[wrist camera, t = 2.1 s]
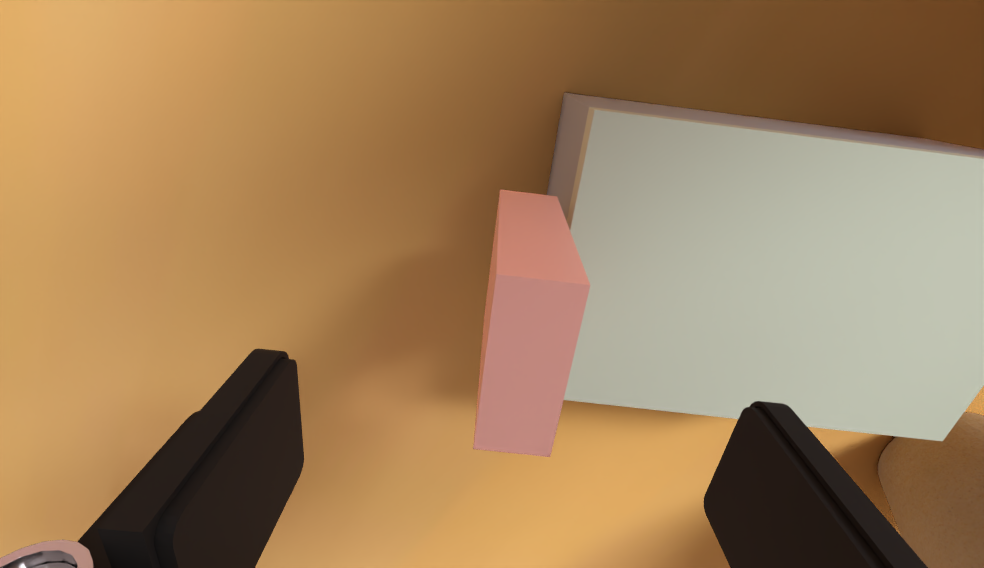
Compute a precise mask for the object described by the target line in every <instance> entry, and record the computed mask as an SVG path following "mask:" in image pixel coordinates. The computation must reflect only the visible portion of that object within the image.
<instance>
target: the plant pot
mask: <svg viewBox="0 0 984 568" xmlns="http://www.w3.org/2000/svg"><path fill="white" fill-rule="evenodd" d="M878 476H879V479H880V482H881V485H882V488H883V491H884V493H885V496H886V498H887V501H888V504H889V506H890V509H891V511H892V514H893V516H894V519H895V522H896V524H897V526H898V529H899V531H900V533H901V536H902V538H903V539H904V540H905V541H906V543H907V544H908V545H909V546H910V547H911V548H912V550H913V551H914V552H915V553H916V554H917V555H918V557H919V558H920V559H921V560H922V561H923V562H924V564H925V565H926V566H927V567H928V568H984V416H983V415H979V414H975V413H965V412H964V413H963V414H962V416H961V417H960V418H959V420H958V421H957V422H956V424H955V425H954V427H953V428H952V429H951V431H950V432H949V433H948V435H947V436H946V437H945V439H944V440H943V441H935V440H926V439H917V438H907V437H898V436H896V437H895V438H894V439H893V440H892V441H891V442H890V443H889V444H888V445H887V446H886V448H885V449H884V451H883V452H882V454H881V456H880V459H879V462H878Z"/></svg>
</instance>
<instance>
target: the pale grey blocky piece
mask: <svg viewBox="0 0 984 568" xmlns="http://www.w3.org/2000/svg"><path fill="white" fill-rule="evenodd" d="M983 386H984V157H982V156H974V155H966V154H958V153H950V152H942V151H935V150H927V149H919V148H911V147H903V146H895V145H887V144H879V143H872V142H864V141H856V140H848V139H840V138H832V137H824V136H816V135H808V134H801V133H793V132H785V131H777V130H769V129H761V128H753V127H745V126H737V125H730V124H722V123H714V122H706V121H698V120H690V119H682V118H674V117H667V116H659V115H651V114H643V113H635V112H627V111H619V110H611V109H603V108H596V107H589V110H588V115H587V120H586V126H585V131H584V136H583V141H582V146H581V151H580V156H579V161H578V166H577V172H576V177H575V182H574V187H573V192H572V197H571V202H570V207H569V212H568V217H567V221H566V219H565V216H564V213H563V211H562V208H561V205H560V203H559V200H558V197H557V196H550V195H542V194H534V193H525V192H517V191H509V190H501V189H500V194H499V202H498V210H497V218H496V226H495V234H494V242H493V250H492V258H491V266H490V274H489V282H488V290H487V298H486V306H485V314H484V326H483V338H482V350H481V362H480V374H479V386H478V398H477V410H476V422H475V435H474V447H473V449H479V450H489V451H498V452H508V453H517V454H527V455H536V456H546V457H550V455H551V451H552V447H553V443H554V438H555V434H556V430H557V425H558V421H559V417H560V413H561V408H562V404H563V400H569V401H578V402H587V403H596V404H606V405H615V406H624V407H633V408H642V409H651V410H660V411H670V412H679V413H688V414H697V415H706V416H715V417H725V418H734V419H739V417H740V415H741V412H742V411H743V409H744V408H746V407H750V405H751V404H752V403H753V402H755V401H763V402H773V403H783V404H786V405H788V406H789V407H790V408H791V409H792V410H793V411H794V412H795V413H796V415H797V416H798V417H799V418H800V419H801V420H802V422H803V423H804V424H805V425H806V426H807V427H816V428H825V429H834V430H843V431H853V432H862V433H871V434H880V435H889V436H898V437H907V438H917V439H926V440H935V441H943V440H944V439H945V437H946V436H947V435H948V433H949V432H950V431H951V429H952V428H953V427H954V425H955V424H956V422H957V421H958V420H959V418H960V417H961V416H962V414H963V413H964V412H965V410H966V409H967V407H968V406H969V405H970V403H971V402H972V401H973V399H974V398H975V397H976V395H977V394H978V393H979V391H980V390H981V388H982V387H983Z"/></svg>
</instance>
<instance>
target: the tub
mask: <svg viewBox="0 0 984 568" xmlns="http://www.w3.org/2000/svg"><path fill="white" fill-rule="evenodd" d="M589 107H596V108H603V109H611V110H619V111H627V112H635V113H643V114H651V115H659V116H667V117H674V118H682V119H690V120H698V121H706V122H714V123H722V124H730V125H737V126H745V127H753V128H761V129H769V130H777V131H785V132H793V133H801V134H808V135H816V136H824V137H832V138H840V139H848V140H856V141H864V142H872V143H879V144H887V145H895V146H903V147H911V148H919V149H927V150H935V151H942V152H950V153H958V154H966V155H974V156H982V157H984V150H983V149H978V148H973V147H967V146H962V145H957V144H952V143H946V142H941V141H936V140H930V139H925V138H917V137H910V136H902V135H894V134H886V133H878V132H870V131H862V130H855V129H847V128H839V127H831V126H823V125H815V124H808V123H800V122H792V121H784V120H776V119H768V118H761V117H753V116H745V115H737V114H729V113H721V112H713V111H706V110H698V109H690V108H682V107H674V106H666V105H659V104H651V103H643V102H635V101H627V100H619V99H611V98H604V97H596V96H588V95H580V94H572V93H564V96H563V102H562V108H561V114H560V120H559V125H558V131H557V137H556V143H555V149H554V155H553V160H552V166H551V172H550V178H549V184H548V190H547V195H550V196H557V197H558V200H559V203H560V205H561V208H562V211H563V213H564V216H565V219H566V221H567V217H568V212H569V207H570V202H571V197H572V192H573V187H574V182H575V177H576V172H577V166H578V161H579V156H580V151H581V146H582V141H583V136H584V131H585V126H586V120H587V115H588V110H589Z"/></svg>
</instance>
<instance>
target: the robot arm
mask: <svg viewBox="0 0 984 568" xmlns="http://www.w3.org/2000/svg"><path fill="white" fill-rule="evenodd" d="M303 462H304V452H303V439H302V426H301V413H300V400H299V387H298V374H297V364H296V361H295V360H291V359H289V357H288V355H287V353H286V352H284V351H275V350H265V349H255V350H253V351H252V352H251V353H250V354H249V355H248V357H247V358H246V359H245V360H244V361H243V362H242V363H241V365H240V366H239V367H238V368H237V369H236V370H235V371H234V373H233V374H232V375H231V376H230V377H229V378H228V379H227V381H226V382H225V383H224V384H223V385H222V386H221V387H220V389H219V390H218V391H217V392H216V393H215V394H214V395H213V397H212V398H211V399H210V400H209V401H208V402H207V403H206V405H205V406H204V407H203V408H202V409H201V410H200V411H198V412H195V413H193V414H192V415H191V416H190V417H189V418H188V419H187V420H186V421H185V422H184V423H183V424H182V425H181V426H180V427H179V428H178V430H177V431H176V432H175V433H174V434H173V435H172V436H171V437H170V439H169V440H168V441H167V442H166V443H165V444H164V445H163V446H162V448H161V449H160V450H159V451H158V452H157V453H156V454H155V455H154V456H153V458H152V459H151V460H150V461H149V462H148V463H147V464H146V465H145V467H144V468H143V469H142V470H141V471H140V472H139V473H138V474H137V476H136V477H135V478H134V479H133V480H132V481H131V482H130V483H129V485H128V486H127V487H126V488H125V489H124V490H123V491H122V492H121V493H120V495H119V496H118V497H117V498H116V499H115V500H114V501H113V502H112V504H111V505H110V506H109V507H108V508H107V509H106V510H105V511H104V513H103V514H102V515H101V516H100V517H99V518H98V519H97V520H96V521H95V523H94V524H93V525H92V526H91V527H90V528H89V529H88V530H87V532H86V533H85V534H84V535H83V536H82V537H81V538H80V539H79V541H78V542H74V541H68V540H55V541H45V542H41V543H37V544H34V545H31V546H27V547H24V548H21V549H19V550H17V551H15V552H12V553H10V554H8V555H6V556H4V557H2V558H0V568H255V566H256V564H257V562H258V560H259V558H260V556H261V554H262V552H263V550H264V548H265V546H266V544H267V542H268V540H269V538H270V536H271V534H272V531H273V529H274V527H275V525H276V523H277V521H278V519H279V517H280V515H281V513H282V511H283V509H284V507H285V505H286V503H287V501H288V499H289V497H290V495H291V493H292V491H293V489H294V487H295V485H296V483H297V481H298V478H299V476H300V474H301V471H302V467H303ZM704 509H705V513H706V516H707V518H708V520H709V522H710V524H711V526H712V529H713V531H714V533H715V535H716V537H717V539H718V541H719V544H720V546H721V548H722V550H723V552H724V554H725V557H726V559H727V561H728V563H729V565H730V567H731V568H928V567H927V566H926V565H925V564H924V562H923V561H922V560H921V559H920V558H919V557H918V555H917V554H916V553H915V552H914V551H913V550H912V548H911V547H910V546H909V545H908V544H907V543H906V541H905V540H904V539H903V538H902V537H901V536H900V534H899V533H898V532H897V531H896V530H895V529H894V527H893V526H892V525H891V524H890V523H889V522H888V521H887V519H886V518H885V517H884V516H883V515H882V514H881V512H880V511H879V510H878V509H877V508H876V507H875V505H874V504H873V503H872V502H871V501H870V500H869V498H868V497H867V496H866V495H865V494H864V493H863V491H862V490H861V489H860V488H859V487H858V486H857V484H856V483H855V482H854V481H853V480H852V479H851V477H850V476H849V475H848V474H847V473H846V472H845V470H844V469H843V468H842V467H841V466H840V465H839V463H838V462H837V461H836V460H835V459H834V458H833V457H832V455H831V454H830V453H829V452H828V451H827V450H826V448H825V447H824V446H823V445H822V444H821V443H820V441H819V440H818V439H817V438H816V437H815V436H814V434H813V433H812V432H811V431H810V430H809V429H808V427H807V426H806V425H805V424H804V423H803V422H802V420H801V419H800V418H799V417H798V416H797V415H796V413H795V412H794V411H793V410H792V409H791V408H790V407H789V406H788V405H786V404H783V403H773V402H763V401H755V402H753V403H752V404H751V405H750V407H746V408H744V409H743V411H742V412H741V415H740V417H739V419H738V421H737V424H736V426H735V428H734V430H733V433H732V435H731V437H730V439H729V442H728V444H727V446H726V449H725V451H724V453H723V455H722V458H721V460H720V462H719V464H718V467H717V469H716V471H715V473H714V476H713V478H712V480H711V483H710V485H709V487H708V489H707V492H706V494H705V497H704Z"/></svg>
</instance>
